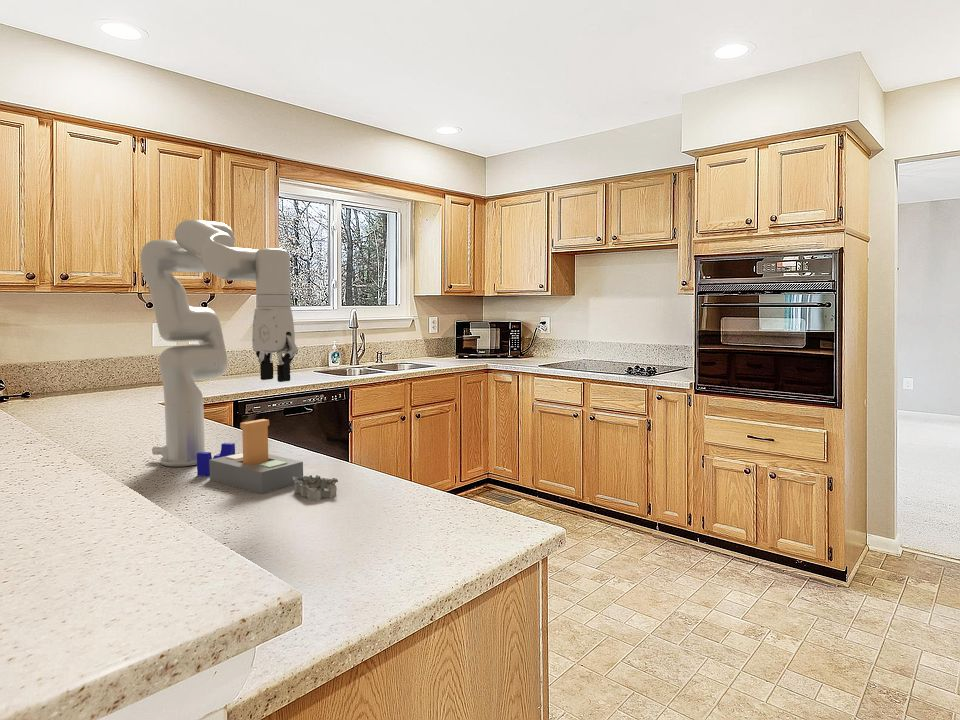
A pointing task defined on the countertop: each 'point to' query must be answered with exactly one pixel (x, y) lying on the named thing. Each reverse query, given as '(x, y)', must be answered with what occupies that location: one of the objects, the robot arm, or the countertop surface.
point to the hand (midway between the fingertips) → (275, 379)
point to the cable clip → (204, 458)
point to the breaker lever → (255, 441)
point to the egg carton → (315, 487)
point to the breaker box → (255, 472)
